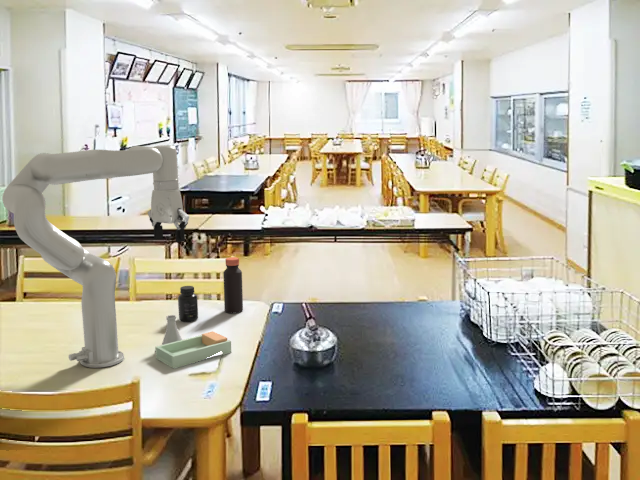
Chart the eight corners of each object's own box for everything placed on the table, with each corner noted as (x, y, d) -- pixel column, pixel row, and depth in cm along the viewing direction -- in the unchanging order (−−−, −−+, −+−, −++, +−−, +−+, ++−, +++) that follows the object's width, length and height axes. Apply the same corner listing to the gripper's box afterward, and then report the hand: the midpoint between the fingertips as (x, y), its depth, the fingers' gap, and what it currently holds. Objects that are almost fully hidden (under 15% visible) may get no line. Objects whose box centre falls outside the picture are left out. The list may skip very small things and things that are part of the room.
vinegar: (246, 310, 256) (245, 257, 252) (235, 314, 251) (233, 261, 247) (232, 307, 260) (230, 255, 256) (220, 311, 254) (219, 259, 250)
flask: (187, 343, 221) (185, 313, 219) (180, 350, 214) (178, 320, 212) (165, 342, 222) (163, 312, 220) (157, 350, 215) (156, 319, 213)
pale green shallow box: (173, 368, 200) (173, 356, 199) (155, 358, 208) (155, 346, 207) (231, 352, 212) (231, 341, 212) (212, 343, 221) (211, 332, 220)
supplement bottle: (176, 318, 247) (175, 286, 244) (195, 315, 250) (194, 283, 247) (181, 323, 241) (180, 290, 238) (200, 321, 243) (199, 288, 241)
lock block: (216, 350, 210) (216, 340, 210) (202, 343, 216) (201, 334, 216) (227, 347, 213) (227, 337, 212) (213, 340, 219) (212, 331, 218)
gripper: (137, 185, 213) (141, 239, 216) (177, 188, 203) (180, 245, 207) (156, 182, 219) (159, 235, 222) (195, 186, 209) (198, 240, 213)
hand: (169, 240), depth 215 cm, fingers open, 9 cm apart
